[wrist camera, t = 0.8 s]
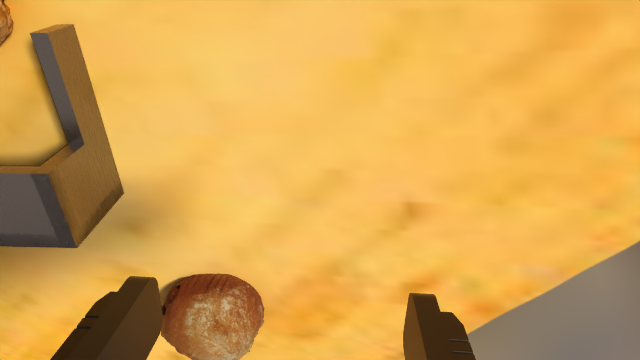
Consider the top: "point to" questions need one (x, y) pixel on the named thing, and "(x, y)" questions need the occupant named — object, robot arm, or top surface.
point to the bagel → (5, 21)
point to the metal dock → (62, 159)
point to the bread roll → (212, 317)
